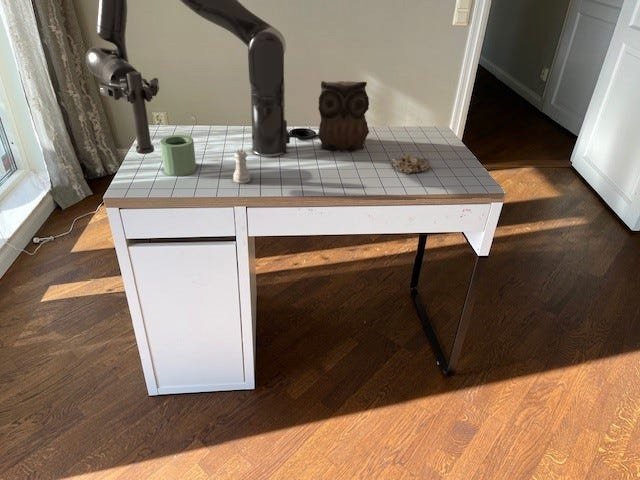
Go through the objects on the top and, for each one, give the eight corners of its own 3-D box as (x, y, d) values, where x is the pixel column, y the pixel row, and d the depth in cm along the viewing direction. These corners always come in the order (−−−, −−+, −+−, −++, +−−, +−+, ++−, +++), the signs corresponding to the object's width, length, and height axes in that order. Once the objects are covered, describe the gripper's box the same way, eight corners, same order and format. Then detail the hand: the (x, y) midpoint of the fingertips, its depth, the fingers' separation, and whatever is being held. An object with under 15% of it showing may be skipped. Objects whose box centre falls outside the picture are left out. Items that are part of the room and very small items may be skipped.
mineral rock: (397, 167, 132) (391, 148, 137) (393, 179, 135) (388, 160, 140) (435, 168, 133) (428, 149, 138) (430, 180, 136) (424, 161, 142)
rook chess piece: (247, 185, 124) (246, 155, 119) (230, 183, 124) (228, 153, 120) (252, 178, 127) (252, 149, 123) (236, 175, 128) (235, 147, 124)
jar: (193, 161, 134) (190, 133, 130) (198, 173, 128) (195, 145, 124) (162, 164, 132) (158, 136, 127) (166, 177, 125) (162, 148, 121)
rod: (153, 146, 118) (142, 70, 108) (155, 153, 115) (144, 75, 105) (136, 148, 117) (123, 71, 107) (137, 154, 114) (124, 75, 104)
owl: (368, 148, 148) (376, 81, 137) (339, 158, 141) (345, 88, 130) (339, 136, 156) (343, 71, 145) (310, 145, 148) (312, 78, 137)
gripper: (88, 64, 114) (103, 83, 101) (149, 59, 120) (170, 77, 108) (94, 96, 118) (109, 119, 105) (153, 90, 124) (174, 111, 112)
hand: (140, 97), depth 107 cm, fingers closed on rod, 3 cm apart
